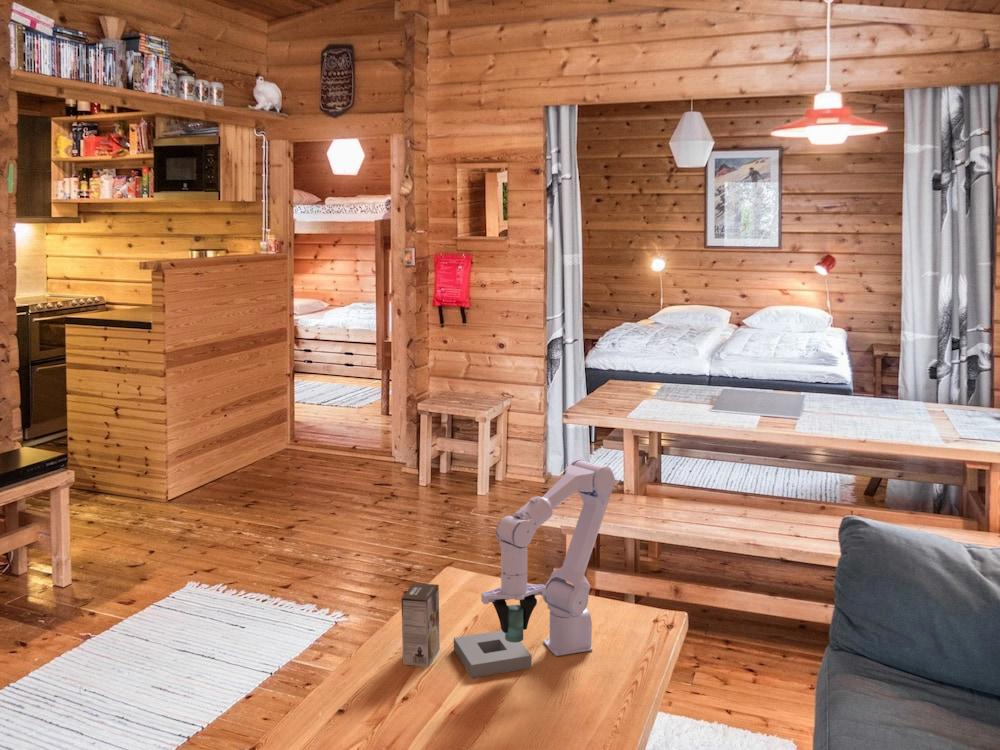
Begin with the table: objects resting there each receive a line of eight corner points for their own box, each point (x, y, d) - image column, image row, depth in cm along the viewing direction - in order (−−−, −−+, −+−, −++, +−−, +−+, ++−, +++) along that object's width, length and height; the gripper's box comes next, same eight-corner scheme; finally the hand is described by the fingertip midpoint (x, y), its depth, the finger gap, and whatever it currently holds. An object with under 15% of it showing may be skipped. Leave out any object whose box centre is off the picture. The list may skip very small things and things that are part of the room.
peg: (518, 633, 205) (519, 603, 203) (526, 640, 201) (526, 610, 200) (502, 636, 203) (502, 606, 202) (509, 643, 200) (509, 613, 198)
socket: (510, 641, 217) (510, 629, 217) (531, 667, 204) (531, 655, 203) (453, 649, 213) (453, 637, 212) (471, 677, 200) (471, 665, 199)
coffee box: (413, 646, 214) (412, 581, 211) (440, 649, 213) (439, 583, 210) (401, 665, 205) (400, 597, 203) (429, 667, 204) (428, 599, 201)
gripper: (488, 582, 193) (488, 642, 196) (551, 573, 198) (551, 631, 201) (478, 570, 200) (478, 628, 202) (539, 561, 205) (539, 618, 207)
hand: (513, 629), depth 202 cm, fingers closed on peg, 4 cm apart
